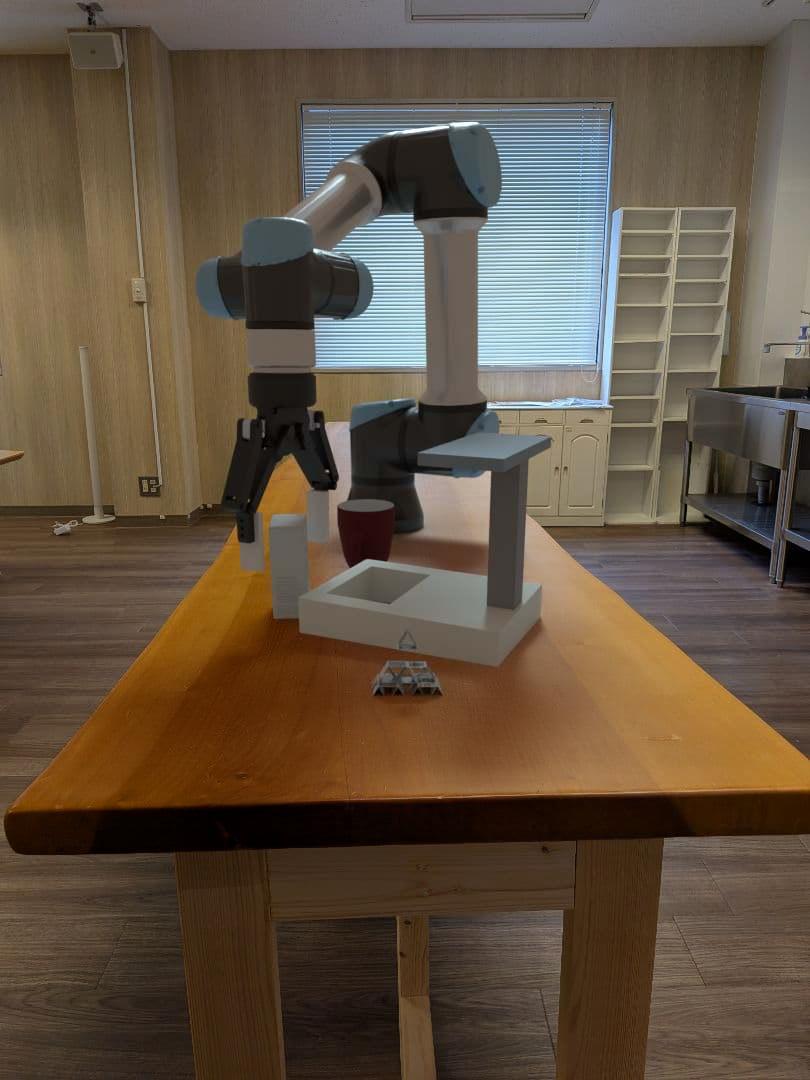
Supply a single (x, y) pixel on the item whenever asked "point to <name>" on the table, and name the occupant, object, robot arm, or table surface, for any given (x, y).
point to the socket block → (418, 611)
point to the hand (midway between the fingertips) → (288, 554)
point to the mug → (366, 529)
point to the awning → (498, 501)
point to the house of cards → (397, 680)
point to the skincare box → (288, 563)
